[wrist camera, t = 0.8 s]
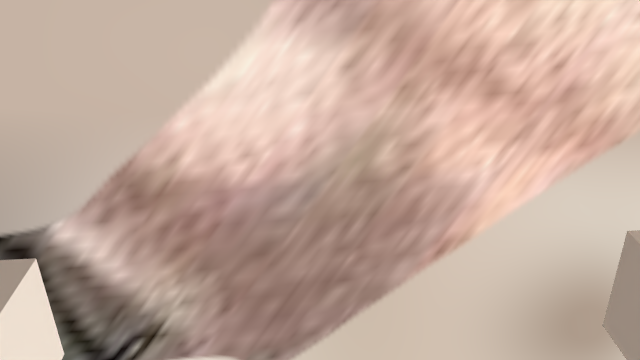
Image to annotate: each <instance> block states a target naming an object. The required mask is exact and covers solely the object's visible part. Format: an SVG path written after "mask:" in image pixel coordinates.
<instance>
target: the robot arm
mask: <svg viewBox="0 0 640 360" xmlns="http://www.w3.org/2000/svg"><path fill="white" fill-rule="evenodd" d="M603 327H604V328H605V330H606V331H607V332H608V333H609V335H610V336H611V338H612V339H613V341H614V342H615V344H616V345H617V346H618V348H619V349H620V351H621V352H622V353H623V355H624V356H625V358H626V359H627V360H640V231H627V235H626V238H625V242H624V246H623V250H622V253H621V257H620V261H619V265H618V269H617V273H616V277H615V280H614V284H613V288H612V292H611V295H610V300H609V303H608V307H607V311H606V315H605V318H604V322H603ZM63 355H64V352H63V349H62V345H61V342H60V339H59V335H58V332H57V328H56V325H55V322H54V318H53V315H52V311H51V308H50V304H49V301H48V298H47V294H46V291H45V287H44V284H43V281H42V277H41V274H40V270H39V267H38V264H37V260H36V259H17V260H0V360H62V357H63Z"/></svg>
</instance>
